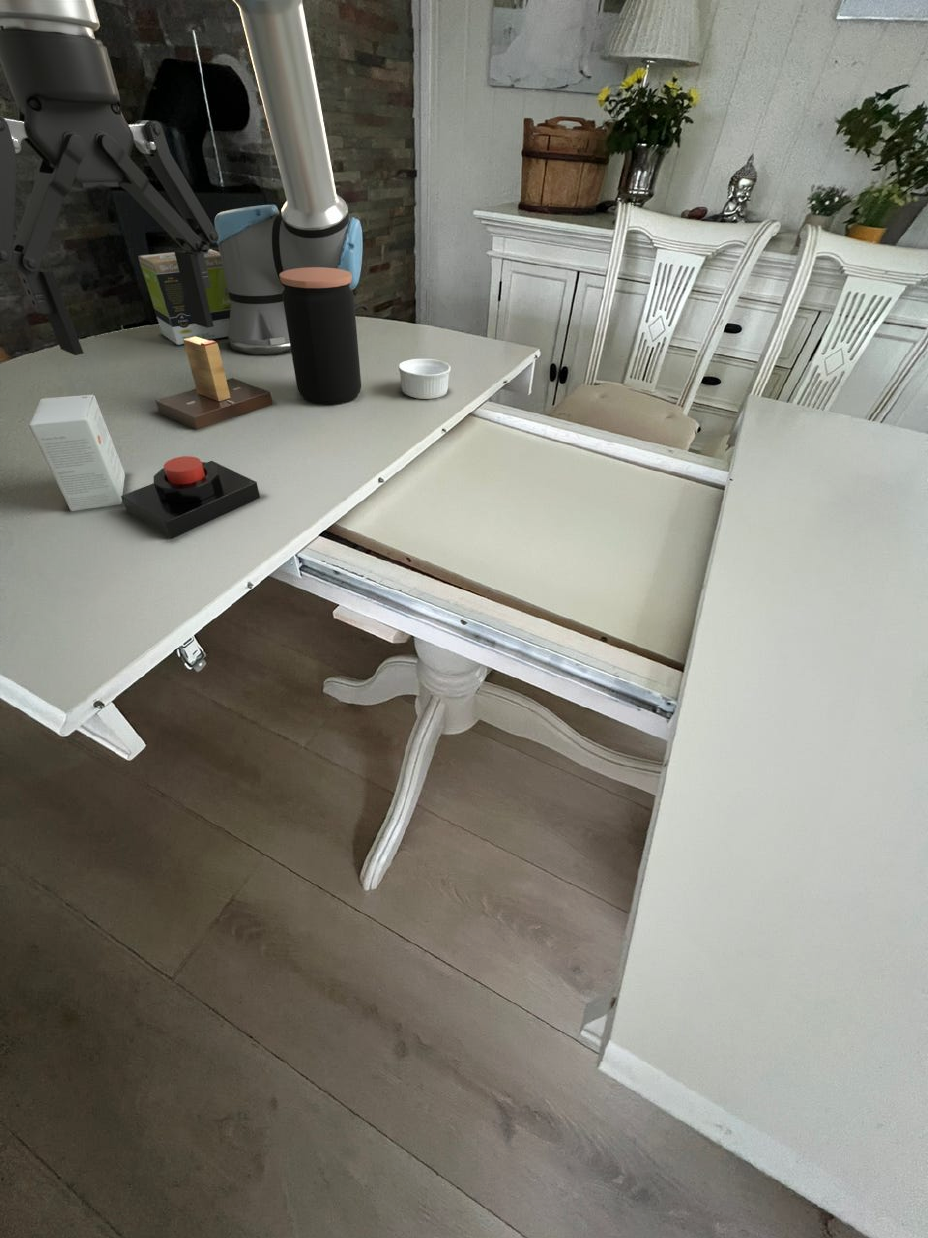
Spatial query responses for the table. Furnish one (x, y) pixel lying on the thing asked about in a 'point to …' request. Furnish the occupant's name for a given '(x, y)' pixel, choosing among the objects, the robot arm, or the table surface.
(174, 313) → the tea box
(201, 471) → the button
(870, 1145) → the table surface
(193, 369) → the handle
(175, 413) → the panel
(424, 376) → the ramekin
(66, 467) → the small box
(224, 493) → the button block
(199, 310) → the robot arm
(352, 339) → the coffee jar
